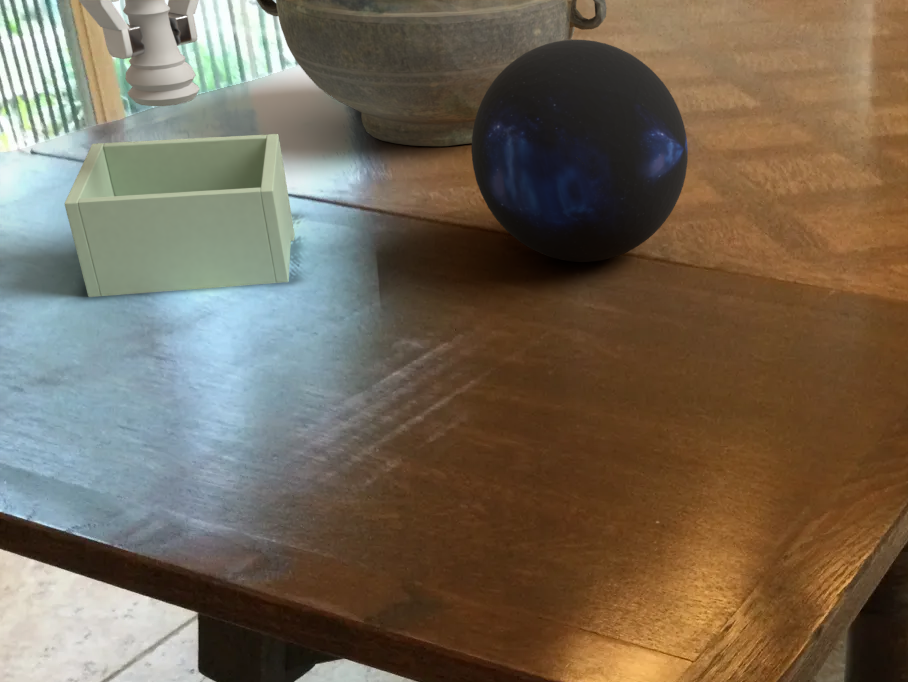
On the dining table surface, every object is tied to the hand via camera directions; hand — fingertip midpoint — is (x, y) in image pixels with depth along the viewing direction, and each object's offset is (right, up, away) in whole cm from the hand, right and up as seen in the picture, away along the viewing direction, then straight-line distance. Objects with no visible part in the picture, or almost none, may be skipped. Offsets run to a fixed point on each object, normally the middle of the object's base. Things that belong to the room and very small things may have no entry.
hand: (154, 49), depth 86 cm
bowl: (+10, +7, +39) cm, 41 cm away
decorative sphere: (+26, -11, +13) cm, 31 cm away
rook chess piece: (0, -3, +2) cm, 3 cm away
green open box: (0, -13, +8) cm, 15 cm away
